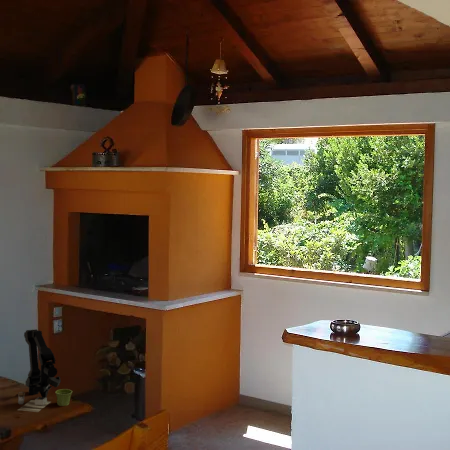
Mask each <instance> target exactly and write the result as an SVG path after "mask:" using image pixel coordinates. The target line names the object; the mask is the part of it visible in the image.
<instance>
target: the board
mask: <svg viewBox="0 0 450 450" xmlns="http://www.w3.org/2000/svg"><path fill="white" fill-rule="evenodd" d="M49 404H51V401H49V400H47V403H46V404H44V405H35V399H31V400H29V401H28V402H26V403H24V404H23V405H21V407H20V408H18V409H17V411H25V412H34V413H39V412H40V411H41V410H43V409H44V408H45V407H46V406H48V405H49Z"/></svg>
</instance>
